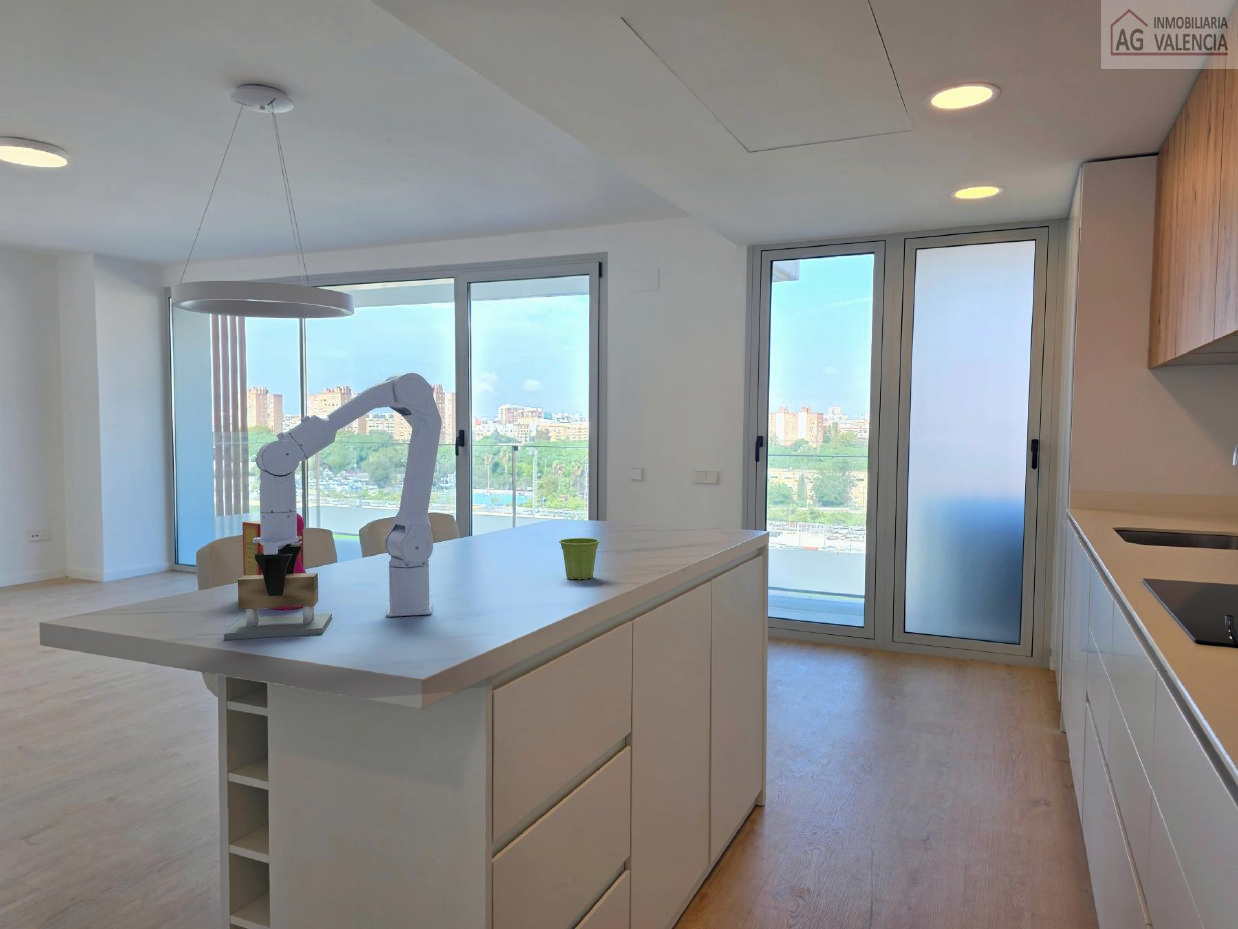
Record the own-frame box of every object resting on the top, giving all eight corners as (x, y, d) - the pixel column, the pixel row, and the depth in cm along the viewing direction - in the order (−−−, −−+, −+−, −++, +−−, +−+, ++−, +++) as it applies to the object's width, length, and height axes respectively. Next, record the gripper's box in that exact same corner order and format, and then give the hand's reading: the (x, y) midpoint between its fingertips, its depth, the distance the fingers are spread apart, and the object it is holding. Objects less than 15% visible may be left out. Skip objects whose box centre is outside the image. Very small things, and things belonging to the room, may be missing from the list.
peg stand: (242, 623, 140) (241, 600, 140) (331, 618, 143) (331, 596, 143) (224, 639, 128) (223, 615, 128) (322, 634, 132) (321, 610, 131)
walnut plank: (318, 601, 139) (317, 572, 139) (314, 605, 135) (314, 576, 135) (244, 604, 136) (243, 575, 136) (238, 609, 132) (237, 579, 132)
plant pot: (608, 578, 182) (607, 540, 182) (572, 583, 177) (572, 544, 177) (586, 573, 190) (586, 536, 190) (552, 577, 185) (551, 540, 184)
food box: (259, 601, 159) (257, 522, 158) (244, 598, 163) (242, 520, 162) (304, 594, 166) (302, 518, 166) (288, 591, 170) (286, 516, 170)
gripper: (262, 508, 141) (264, 584, 142) (242, 516, 127) (244, 600, 128) (304, 507, 143) (306, 582, 143) (289, 515, 129) (291, 598, 129)
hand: (280, 591), depth 136 cm, fingers open, 7 cm apart
